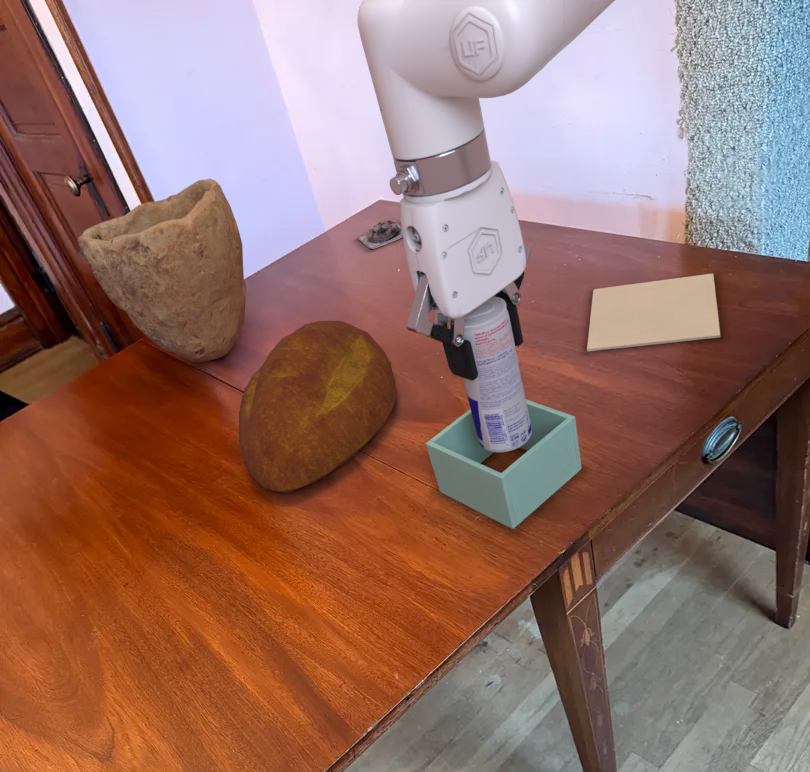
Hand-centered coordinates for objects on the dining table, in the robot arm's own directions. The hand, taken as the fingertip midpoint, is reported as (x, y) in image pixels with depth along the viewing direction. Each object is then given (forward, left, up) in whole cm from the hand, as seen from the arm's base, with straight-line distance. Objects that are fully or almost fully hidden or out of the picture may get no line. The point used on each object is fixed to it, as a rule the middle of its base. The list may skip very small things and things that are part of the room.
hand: (487, 357), depth 72 cm
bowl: (+54, -36, -16) cm, 67 cm away
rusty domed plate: (+34, -74, -16) cm, 83 cm away
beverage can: (0, 0, -10) cm, 10 cm away
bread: (+27, -14, -16) cm, 35 cm away
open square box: (0, 0, -16) cm, 16 cm away
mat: (-15, -33, -16) cm, 40 cm away
